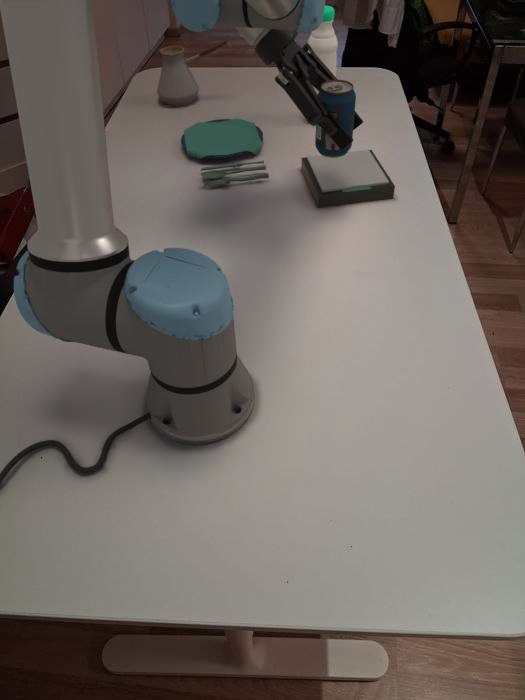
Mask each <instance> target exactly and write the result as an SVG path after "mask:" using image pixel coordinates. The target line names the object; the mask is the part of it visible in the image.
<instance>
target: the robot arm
mask: <svg viewBox="0 0 525 700" xmlns="http://www.w3.org/2000/svg"><path fill="white" fill-rule="evenodd" d="M171 5H172V6H171V7H172V10H173V13H174V15H175V17H176V19H177V21H178V22H179V23H180V24H181V25H182V26H183V28H185V29H186V30H189V31H191V32H194V33H203V32H204V31H205V32H206V31H209V30H211V29H212V28H214V27H229V28H235V30H236V31H237V32H238V33H239V36H240V38H243V39H244V40H245V42H246V43H247V44H248V45H249V46H250V47H251V46H254V47H255V48H254V53H255V54H256V55H257V56H258V57H259V59H260V60H261V61H262V62H263V64H264V65H265V66H270V65H272V63H273V64H274V65H275V67H276V68H277V70H278V74H277V75H276V76H275V77H274V81H275V83H276V84H277V85H279V86H280V87H281V88H282V90H283V91H285V93H286V94H287V96H288V97H289V98H290V100H291V101H292V102H293V104H294V105H295V106H296V108H297V109H298V110H299V112H300V113H301V114H302V116H303V117H304V119H305V120H306V122H308V124H309V125H311V126H313V127H314V126H315V127H316V124H317V123H319V124H320V125H321V126H322V128H323V129H324V130H325V131H326V132H327V134H328V135H329V136H330V137H331V138H332V140H333V141H334V142H335V143H336V144H337V146H338V147H339V148H340V149H341V150H343V149H344V148H345V147H346V146H348V145H349V144H350V143H351V142H352V143H353V142H354V138H353V137H351V136H350V135H349V133H348V132H347V131H346V130H345V129H344V127H343V126H342V125H341V124H340V122H339V121H338V120H337V119H336V118H335V116H334V115H333V114H332V113H331V111H330V112H329V113H327V111H326V109H325V107H324V105H323V104H322V102H321V100H320V99H319V97H318V95H317V93H316V92H315V90H314V88H313V86H314V87H315V88H316V89H317V90H318V91H320V89H321V85H322V83H324V82H326V81H329V80H339V79H338V77H337V76H336V77H335V76H334V75H333V74H332V72H331V71H330V70H329V69H328V68H327V67H326V66H325V64H324V63H323V62H322V61H321V60H320V59H319V58H318V56H317V55H316V54H315V53H314V51H313V50H312V48H311V46H310V45H309V44H308V42H305V44H304V45H303V46H301V45H300V44H298V43H297V42H296V41H295V39H296V38H297V37H298V36H299V32H312V31H314V30H316V29H317V28H318V27H319V26H320V24H321V22H322V19H323V14H324V8H325V6H326V0H171ZM0 17H1V21H2V27H3V32H4V39H5V44H6V50H7V56H8V63H9V67H10V68H9V69H10V73H11V79H12V85H13V90H14V91H13V92H14V96H15V101H16V108H17V113H18V119H19V126H20V131H21V138H22V142H23V148H24V154H25V160H26V166H27V172H28V177H29V182H30V188H31V189H30V190H31V194H32V200H33V207H34V211H35V219H36V224H37V230H36V231H35V233H34V234H32V236H31V237H30V238H29V239H28V241H27V250H26V251H25V253H23V255H22V256H21V258H20V259H19V261H18V263H17V266H16V270H17V272H18V275H15V276H14V278H13V295H14V300H15V303H16V307H17V309H18V311H19V314H20V315H21V317H22V319H23V320H24V321H25V322H26V323H27V325H29V327H31V328H32V329H33V330H34V331H36V332H38V333H40V334H43V335H46V336H49V337H52V338H54V339H56V340H60V341H62V342H65V343H77V344H81V345H86V346H90V347H94V348H100V349H103V350H108V351H112V352H118V353H121V354H127V355H131V356H136V357H141V358H143V359H146V362H147V364H148V367H149V371H150V372H149V378H148V383H147V390H146V394H145V395H146V396H145V405H146V409H147V412H146V413H144V414H143V415H141V416H139V417H138V418H136V419H134V420H132V421H130V422H129V423H127V424H125V425H123V426H121V427H118V428H117V429H115V430H114V431H113V432H112V433H111V434H110V435H109V436H107V438H106V440H105V442H104V444H103V446H102V449H101V453H100V456H99V459H98V461H97V462H96V463H95V464H94V465H91V466H82V465H80V464H79V463H78V462H77V461H76V460H75V458H74V457H73V455H72V453H71V452H70V450H69V449H68V448H67V447H66V446H65V444H64V443H62V442H61V441H59V440H56V439H47V440H42V441H38V442H36V443H32V444H31V445H29V446H27V447H25V448H23V449H22V450H21V451H19V452H18V453H17V454H16V455H15V456H14V457H12V458H11V460H10V461H9V462H8V463H7V464H6V465H5V466H4V468H3V469H2V470H1V471H0V485H1V484H2V482H3V481H4V480H5V478H6V477H7V476H8V474H9V473H10V472H11V471H12V469H13V468H14V467H15V466H16V465H17V464H18V463H19V462H20V461H21V460H22V459H23V458H25V457H26V456H27V455H29V454H31V453H32V452H34V451H37V450H39V449H41V448H46V447H54V448H57V449H58V450H60V452H61V453H62V454H63V456H64V458H65V459H66V461H67V462H68V464H69V465H70V467H71V468H72V469H73V470H74V471H75V472H78V473H79V474H83V475H88V474H93V473H95V472H97V471H99V470H100V469H101V468H102V467H103V466H104V464H105V462H106V460H107V457H108V454H109V450H110V447H111V445H112V443H113V442H114V441H115V439H116V438H118V437H119V436H120V435H122V434H124V433H126V432H128V431H130V430H132V429H134V428H135V427H137V426H140V425H141V424H142V423H144V422H146V421H147V420H151V422H152V424H153V426H154V427H155V428H156V429H157V431H159V433H161V434H162V435H163V436H165V437H166V438H168V439H170V440H172V441H173V442H178V443H181V444H186V445H205V444H210V443H215V442H218V441H221V440H223V439H225V438H227V437H229V436H230V435H233V434H234V433H235V432H236V431H238V430H239V429H240V428H241V427H243V425H244V424H245V423H246V421H247V420H248V418H249V416H251V414H252V411H253V408H254V405H255V404H254V403H255V389H254V383H253V382H254V381H253V379H252V376H251V374H250V373H249V370H248V369H247V368H246V366H245V364H244V363H243V361H242V360H241V358H240V357H239V355H238V350H237V339H236V329H235V328H236V327H235V318H234V300H233V296H232V294H231V290H230V285H229V281H228V278H227V276H226V274H225V272H224V271H223V270H222V267H220V265H219V264H218V263H217V262H216V261H215V260H213V259H212V258H211V257H209V256H207V255H206V254H203V253H202V252H199V251H196V250H194V249H189V248H184V247H165V248H164V249H163V251H159V250H157V249H155V250H151V251H148V252H146V253H144V254H142V255H140V256H139V257H138V258H136V259H131V255H130V245H129V244H130V243H129V239H128V236H127V234H126V233H124V231H122V230H121V229H119V228H118V227H117V226H116V224H115V221H114V210H113V201H112V200H113V199H112V190H111V188H112V187H111V180H110V171H109V170H110V169H109V168H110V167H109V159H108V157H109V156H108V148H107V138H106V137H107V136H106V127H105V117H104V106H103V105H104V104H103V97H102V86H101V76H100V64H99V56H98V55H99V54H98V44H97V34H96V25H95V24H96V23H95V13H94V3H93V0H0ZM363 123H364V120H363V119H362V118H361V116H360V115H359V114H358V113H357V112H356V110H355V114H354V126H353V131H355V130H356V129H357V128H358V127H360V126H361V125H363Z"/></svg>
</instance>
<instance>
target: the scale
mask: <svg viewBox="0 0 525 700" xmlns="http://www.w3.org/2000/svg"><path fill="white" fill-rule="evenodd" d="M300 168H301V169H300V170H301V172H302V174H303V176H304V179H305V181H306V183H307V186H308V188H309V190H310V193H311V195H312V197H313V199H314V202H315V204H316V206H317V208H319V209H320V208H326V207H335V206H343V205H351V204H358V203H365V202H367V203H368V202H373V201H381V200H382V201H383V200H389V199H394V195H395V188H396V186H395V183H393V181H392V179H391V177H390V176H389V175H388V173H387V172H386V170H385V169H384V166H383V165H382V164H381V162H380V161H379V159H378V157H377V156H376V154H375V153H374V151H373V150H372V149H363V150H356V151H355V150H354V151H348V152H347V153H346V154H345V155H344V156H342V157H337V158H329V157H325V156H323V155H321V154H320V155H313V156H312V155H311V156H306V157H301V167H300Z"/></svg>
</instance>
